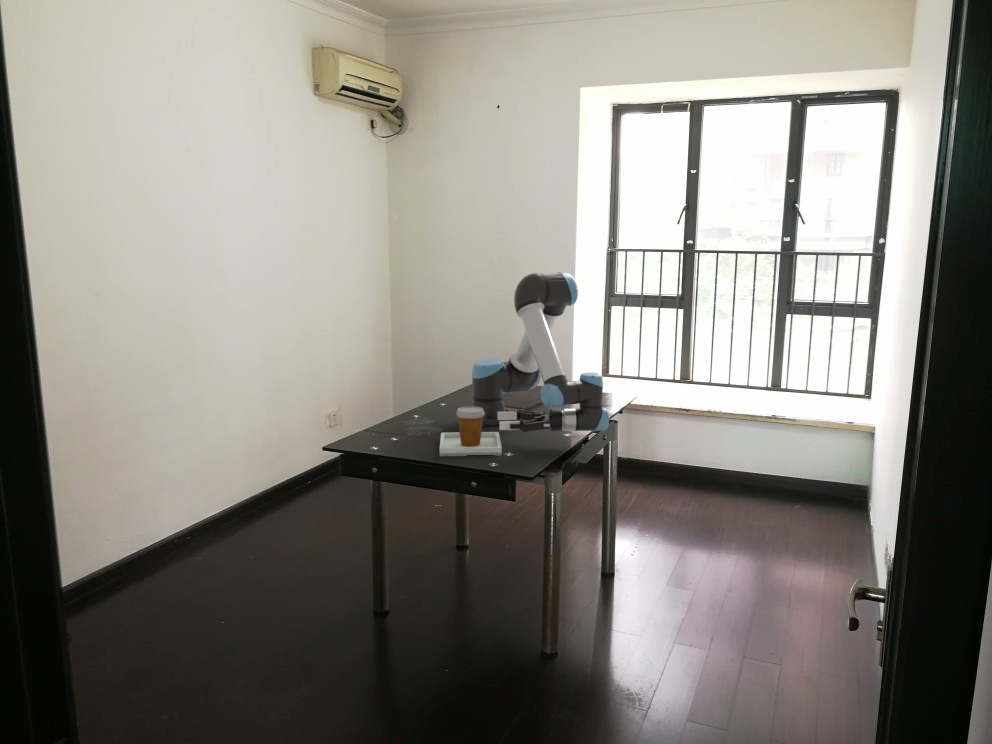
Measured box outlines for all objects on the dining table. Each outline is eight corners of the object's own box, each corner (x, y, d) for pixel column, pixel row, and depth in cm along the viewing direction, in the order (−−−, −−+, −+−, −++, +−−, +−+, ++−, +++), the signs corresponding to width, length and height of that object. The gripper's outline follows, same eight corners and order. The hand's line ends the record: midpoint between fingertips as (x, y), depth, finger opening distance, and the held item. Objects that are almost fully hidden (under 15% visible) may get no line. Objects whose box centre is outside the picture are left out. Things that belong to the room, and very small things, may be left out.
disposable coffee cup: (486, 440, 256) (486, 406, 254) (482, 448, 247) (482, 413, 245) (458, 439, 257) (458, 405, 255) (454, 447, 248) (453, 412, 246)
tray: (439, 456, 242) (439, 448, 241) (441, 439, 261) (441, 432, 261) (501, 455, 243) (501, 447, 242) (498, 438, 262) (498, 431, 262)
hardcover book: (489, 409, 308) (489, 404, 308) (515, 399, 328) (515, 394, 327) (524, 414, 300) (524, 408, 300) (548, 403, 320) (548, 397, 320)
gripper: (566, 440, 240) (500, 441, 239) (557, 421, 265) (497, 422, 264) (567, 417, 239) (500, 418, 238) (557, 400, 263) (496, 401, 262)
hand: (498, 420), depth 251 cm, fingers open, 13 cm apart
